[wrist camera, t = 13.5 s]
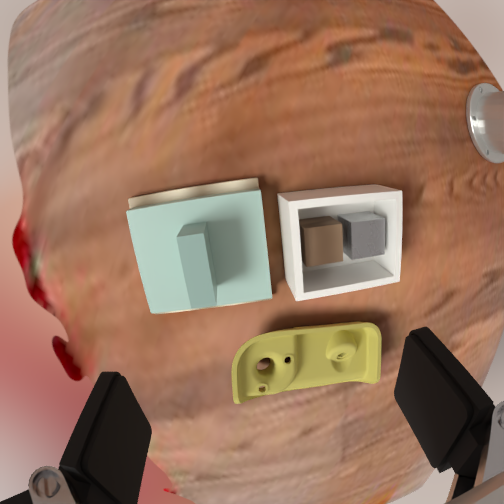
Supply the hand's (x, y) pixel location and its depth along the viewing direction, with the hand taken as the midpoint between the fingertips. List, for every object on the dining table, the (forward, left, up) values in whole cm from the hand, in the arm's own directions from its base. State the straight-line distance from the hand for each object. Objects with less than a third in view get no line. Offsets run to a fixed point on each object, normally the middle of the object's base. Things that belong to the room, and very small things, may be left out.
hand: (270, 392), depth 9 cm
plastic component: (-7, +19, -26) cm, 33 cm away
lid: (+4, +3, -24) cm, 25 cm away
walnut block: (-8, +3, -25) cm, 26 cm away
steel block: (-13, +3, -25) cm, 28 cm away
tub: (-11, +3, -25) cm, 28 cm away
